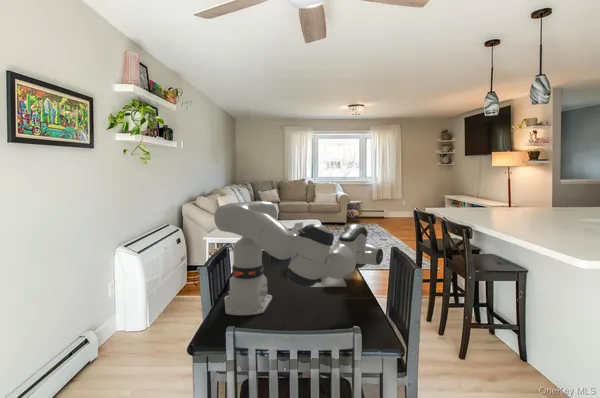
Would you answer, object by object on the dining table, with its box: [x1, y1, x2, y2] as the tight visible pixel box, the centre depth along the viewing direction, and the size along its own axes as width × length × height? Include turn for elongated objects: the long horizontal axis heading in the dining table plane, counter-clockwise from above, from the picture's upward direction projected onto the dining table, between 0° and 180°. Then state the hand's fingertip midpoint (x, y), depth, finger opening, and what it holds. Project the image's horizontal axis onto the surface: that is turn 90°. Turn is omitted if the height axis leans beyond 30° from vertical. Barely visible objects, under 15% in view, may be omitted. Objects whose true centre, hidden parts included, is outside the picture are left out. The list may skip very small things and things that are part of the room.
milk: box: [290, 222, 305, 259], centre depth 194 cm, size 6×6×22 cm
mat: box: [310, 276, 348, 288], centre depth 164 cm, size 18×17×1 cm
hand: (331, 245), depth 177 cm, fingers open, 8 cm apart
